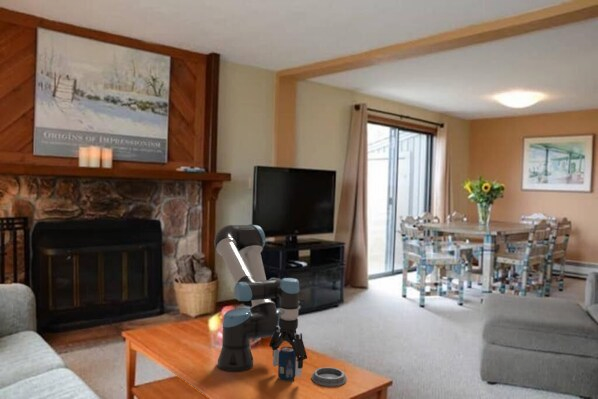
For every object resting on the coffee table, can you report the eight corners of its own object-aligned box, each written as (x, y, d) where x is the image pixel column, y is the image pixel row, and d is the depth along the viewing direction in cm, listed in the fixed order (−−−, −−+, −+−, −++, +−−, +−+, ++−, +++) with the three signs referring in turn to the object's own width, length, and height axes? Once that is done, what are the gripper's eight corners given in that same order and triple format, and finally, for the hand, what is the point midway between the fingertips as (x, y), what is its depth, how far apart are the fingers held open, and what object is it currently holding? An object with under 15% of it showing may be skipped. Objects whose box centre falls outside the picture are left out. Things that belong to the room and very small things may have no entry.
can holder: (304, 378, 192) (304, 371, 192) (328, 369, 202) (328, 363, 202) (329, 389, 182) (329, 383, 182) (353, 380, 192) (354, 374, 191)
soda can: (285, 373, 196) (286, 344, 196) (298, 378, 192) (299, 348, 191) (274, 378, 191) (275, 348, 190) (287, 383, 186) (288, 353, 186)
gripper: (261, 312, 197) (260, 363, 198) (303, 326, 179) (301, 383, 179) (275, 309, 202) (274, 359, 203) (317, 323, 184) (315, 378, 184)
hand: (286, 370), depth 191 cm, fingers open, 13 cm apart
